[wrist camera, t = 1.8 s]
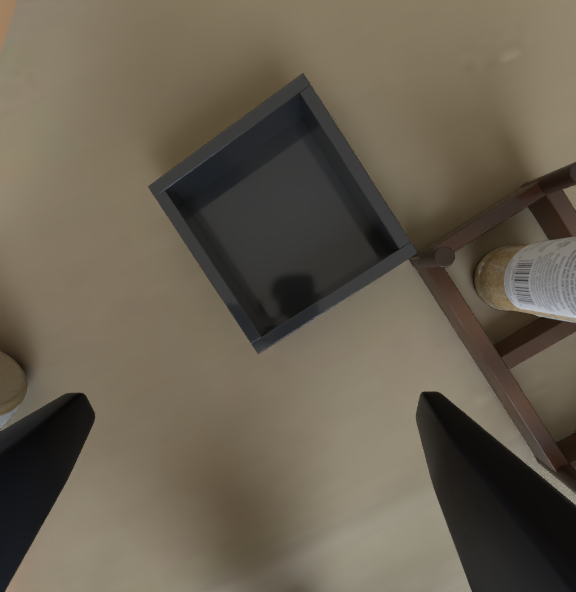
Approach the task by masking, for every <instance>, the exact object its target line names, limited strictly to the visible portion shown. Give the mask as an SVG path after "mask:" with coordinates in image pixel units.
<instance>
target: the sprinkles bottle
mask: <svg viewBox="0 0 576 592" xmlns="http://www.w3.org/2000/svg"><path fill="white" fill-rule="evenodd" d="M474 282H475V288H476V291H477V293H478V295H479V296H480V298H481V299H482V300H483V301H484V302H485V303H486V304H488V305H489V306H491V307H492V308H494V309H498V310H503V311H519V312H524V313H529V314H534V315H536V316H540V317H546V318H551V319H557V320H563V321H569V322H575V323H576V237H570V238H563V239H556V240H549V241H542V242H537V243H533V244H528V245H522V246H503V247H499V248H496V249H494V250H493V251H491V252H489V253H488V254H487V255H486V256H484V257H483V258H482V260H481V261H480V262H479V264H478V266H477V268H476V272H475V280H474Z"/></svg>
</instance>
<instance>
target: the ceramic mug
mask: <svg viewBox="0 0 576 592" xmlns="http://www.w3.org/2000/svg"><path fill="white" fill-rule="evenodd" d="M26 391H27V380H26V376H25V373H24V372H23V370H22V368H21V367H20V365H19V364H18V363H17V362H16V361H15V360H14V359H12V358H11V357H10V356H8V355H7V354H5V353H3V352H2V351H0V428H1V427H2V426H3V425H4V424H5V423H6V422H7V421H8V420H9V419H10V418H11V417H12V415H13V414H14V413H15V412H16V410H17V409H18V407H19V406H20V404H21V403H22V401H23V399H24V397H25V394H26Z"/></svg>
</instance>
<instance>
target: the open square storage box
mask: <svg viewBox="0 0 576 592" xmlns="http://www.w3.org/2000/svg"><path fill="white" fill-rule="evenodd" d="M148 188H149V189H150V191H151V192H152V194H153V195H154V197H155V198H156V200H157V201H158V203H159V204H160V206H161V207H162V209H163V210H164V212H165V213H166V215H167V216H168V218H169V219H170V221H171V222H172V224H173V226H174V227H175V229H176V230H177V232H178V233H179V235H180V236H181V238H182V239H183V241H184V242H185V244H186V245H187V247H188V248H189V250H190V251H191V253H192V254H193V256H194V257H195V259H196V260H197V262H198V264H199V265H200V267H201V268H202V270H203V271H204V273H205V274H206V276H207V277H208V279H209V280H210V282H211V283H212V285H213V286H214V288H215V289H216V291H217V292H218V294H219V295H220V297H221V298H222V300H223V302H224V303H225V305H226V306H227V308H228V309H229V311H230V312H231V314H232V315H233V317H234V318H235V320H236V321H237V323H238V324H239V326H240V327H241V329H242V330H243V332H244V333H245V335H246V336H247V338H248V340H249V341H250V343H252V346H253V347H254V349H255V350H256V352H257V353H258V354H259V353H261V352H262V351H264V350H265V349H267V348H269V347H270V346H272V345H273V344H275V343H277V342H278V341H280V340H281V339H283V338H284V337H286V336H288V335H289V334H291V333H292V332H294V331H296V330H297V329H299V328H300V327H302V326H303V325H305V324H307V323H308V322H310V321H311V320H313V319H314V318H316V317H318V316H319V315H321V314H322V313H324V312H326V311H327V310H329V309H330V308H332V307H333V306H335V305H337V304H338V303H340V302H341V301H343V300H344V299H346V298H348V297H349V296H351V295H352V294H354V293H356V292H357V291H359V290H360V289H362V288H363V287H365V286H367V285H368V284H370V283H371V282H373V281H374V280H376V279H378V278H379V277H381V276H382V275H384V274H386V273H387V272H389V271H390V270H392V269H393V268H395V267H397V266H398V265H400V264H401V263H403V262H405V261H406V260H408V259H409V258H411V257H412V256H414V255H416V254H417V251H416V249H415V248H414V246H413V244H412V243H411V242H410V240H409V238H408V237H407V235H406V233H405V232H404V230H403V229H402V227H401V226H400V224H399V222H398V221H397V219H396V218H395V216H394V215H393V213H392V211H391V210H390V208H389V207H388V205H387V204H386V202H385V200H384V199H383V197H382V196H381V194H380V193H379V191H378V189H377V188H376V186H375V185H374V183H373V182H372V180H371V178H370V177H369V175H368V174H367V172H366V171H365V169H364V168H363V166H362V164H361V163H360V161H359V160H358V158H357V157H356V155H355V153H354V152H353V150H352V149H351V147H350V146H349V144H348V142H347V141H346V139H345V138H344V136H343V135H342V133H341V131H340V130H339V128H338V127H337V125H336V124H335V122H334V120H333V119H332V117H331V116H330V114H329V113H328V111H327V109H326V108H325V106H324V105H323V103H322V102H321V100H320V98H319V97H318V95H317V94H316V92H315V91H314V89H313V87H312V86H311V85H310V83H309V81H308V79H307V78H306V76H305V75H304V73H303V74H301V75H300V76H299V77H297V78H296V79H294V80H293V81H292V82H290V83H289V84H288V85H286V86H285V87H283V88H282V89H281V90H279V91H278V92H277V93H275V94H274V95H273V96H271V97H270V98H268V99H267V100H266V101H264V102H263V103H262V104H260V105H259V106H258V107H256V108H255V109H253V110H252V111H251V112H249V113H248V114H247V115H245V116H244V117H242V118H241V119H240V120H238V121H237V122H236V123H234V124H233V125H232V126H230V127H229V128H227V129H226V130H225V131H223V132H222V133H221V134H219V135H218V136H217V137H215V138H214V139H212V140H211V141H210V142H208V143H207V144H206V145H204V146H203V147H201V148H200V149H199V150H197V151H196V152H195V153H193V154H192V155H191V156H189V157H188V158H186V159H185V160H184V161H182V162H181V163H180V164H178V165H177V166H175V167H174V168H173V169H171V170H170V171H169V172H167V173H166V174H165V175H163V176H162V177H160V178H159V179H158V180H156V181H155V182H154V183H152V184H151V185H150V186H148Z"/></svg>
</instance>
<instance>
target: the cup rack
mask: <svg viewBox="0 0 576 592" xmlns="http://www.w3.org/2000/svg"><path fill="white" fill-rule="evenodd" d="M574 185H576V162H575V163H572V164H570V165H567V166H565V167H563V168H560V169H558V170H556V171H553V172H551V173H548V174H546V175H544V176H541V177H539V178H537V179H534V180H532V181H529V182H527V183H525V184H523V185H522V186H521V188H520V189H518V190H516V191H515V192H513V193H512V194H510V195H509V196H507V197H505V198H504V199H502V200H501V201H499V202H497V203H496V204H494V205H493V206H491V207H490V208H488V209H486V210H485V211H483V212H482V213H480V214H479V215H477V216H475V217H474V218H472V219H471V220H469V221H467V222H466V223H464V224H463V225H461V226H460V227H458V228H456V229H455V230H453V231H452V232H450V233H449V234H447V235H445V236H444V237H442V238H441V239H439V240H437V241H436V242H434V243H433V244H431V245H430V246H428V247H426V248H425V249H423V250H422V251H420V252H417V254H416V255H414V256H412V257H411V258H410V260H411V264H412V265H413V267H415V268H416V269H417V271H418V272H419V274H420V276H421V277H422V279H423V280H424V282H425V283H426V285H427V287H428V288H429V290H430V291H431V293H432V294H433V296H434V298H435V299H436V301H437V302H438V304H439V305H440V307H441V309H442V310H443V312H444V313H445V315H446V316H447V318H448V320H449V321H450V323H451V324H452V326H453V327H454V329H455V330H456V332H457V334H458V335H459V337H460V338H461V340H462V341H463V343H464V345H465V346H466V348H467V349H468V351H469V352H470V354H471V356H472V357H473V359H474V360H475V362H476V363H477V365H478V367H479V368H480V370H481V371H482V373H483V374H484V376H485V378H486V379H487V381H488V382H489V384H490V385H491V387H492V388H493V390H494V392H495V393H496V395H497V396H498V398H499V399H500V401H501V403H502V404H503V406H504V407H505V409H506V410H507V412H508V414H509V415H510V417H511V418H512V420H513V421H514V423H515V425H516V426H517V428H518V429H519V431H520V432H521V434H522V435H523V437H524V439H525V440H526V442H527V443H528V445H529V446H530V448H531V450H532V451H533V453H534V454H535V456H536V459H537V461H538V463H539V464H540V465H542V466H543V467H544V468H545V469H546V470H547V471H549V472H550V473H551V474H552V475H554V476H555V477H556V478H557V479H558V480H560V481H561V482H562V483H564V484H565V485H566V486H567V487H568V488H570V489H571V490H572V491H573V492H575V493H576V434H574V435H572V436H570V437H568V438H566V439H564V440H563V441H561V442H559V443H557V444H556V443H555V442H554V440H553V439H552V437H551V436H550V434H549V432H548V431H547V429H546V428H545V426H544V425H543V423H542V421H541V420H540V418H539V417H538V415H537V413H536V412H535V410H534V409H533V407H532V406H531V404H530V402H529V401H528V399H527V398H526V396H525V395H524V393H523V391H522V390H521V388H520V387H519V385H518V384H517V382H516V380H515V379H514V377H513V376H512V374H511V373H510V371H509V369H511V368H512V367H514V366H516V365H518V364H519V363H521V362H523V361H525V360H526V359H528V358H530V357H532V356H533V355H535V354H537V353H539V352H540V351H542V350H544V349H546V348H547V347H549V346H551V345H553V344H554V343H556V342H558V341H560V340H561V339H563V338H565V337H567V336H568V335H570V334H572V333H574V332H575V331H576V323H575V322H569V321H563V320H557V319H551V318H546V317H542V318H540V319H539V320H537V321H535V322H533V323H532V324H530V325H528V326H526V327H525V328H523V329H521V330H520V331H518V332H516V333H514V334H513V335H511V336H509V337H508V338H506V339H504V340H502V341H501V342H499V343H497V344H496V345H494V346H493V344H492V343H491V341H490V340H489V338H488V336H487V335H486V333H485V332H484V330H483V329H482V327H481V325H480V324H479V322H478V321H477V319H476V317H475V316H474V314H473V313H472V311H471V310H470V308H469V306H468V305H467V303H466V302H465V300H464V299H463V297H462V295H461V294H460V292H459V291H458V289H457V288H456V286H455V284H454V283H453V281H452V280H451V278H450V277H449V275H448V273H447V272H446V270H445V269H444V267H448V266H450V265H451V264H452V263H453V262H454V259H455V254H454V252H455V251H457V250H458V249H460V248H462V247H463V246H465V245H466V244H468V243H470V242H471V241H473V240H474V239H476V238H478V237H479V236H481V235H482V234H484V233H486V232H487V231H489V230H490V229H492V228H494V227H495V226H497V225H498V224H500V223H502V222H503V221H505V220H506V219H508V218H510V217H511V216H513V215H514V214H516V213H518V212H519V211H521V210H522V209H524V208H526V207H527V206H529V208H530V209H531V211H532V212H533V214H534V216H535V217H536V219H537V220H538V222H539V224H540V225H541V227H542V228H543V230H544V232H545V233H546V235H547V236H548V238H549V240H556V239H563V238H570V237H576V211H575V209H574V207H573V206H572V204H571V203H570V201H569V199H568V198H567V196H566V195H565V193H564V191H563V190H562V189H565V188H568V187H571V186H574Z"/></svg>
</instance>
